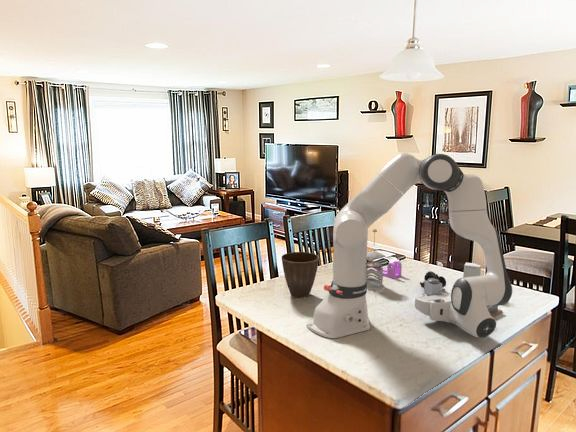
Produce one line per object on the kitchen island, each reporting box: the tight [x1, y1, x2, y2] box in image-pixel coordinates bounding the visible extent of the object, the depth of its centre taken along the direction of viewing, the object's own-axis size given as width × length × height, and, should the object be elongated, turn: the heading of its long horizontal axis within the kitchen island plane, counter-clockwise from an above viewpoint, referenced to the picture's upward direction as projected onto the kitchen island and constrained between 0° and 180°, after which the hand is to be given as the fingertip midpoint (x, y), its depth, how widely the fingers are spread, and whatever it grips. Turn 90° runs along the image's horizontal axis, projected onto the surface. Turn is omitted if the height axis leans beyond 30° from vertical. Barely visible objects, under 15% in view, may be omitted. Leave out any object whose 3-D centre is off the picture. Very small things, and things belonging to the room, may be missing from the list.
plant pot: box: [281, 251, 320, 299], centre depth 177 cm, size 15×15×16 cm
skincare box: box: [462, 262, 482, 278], centre depth 178 cm, size 6×4×12 cm
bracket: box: [373, 260, 402, 280], centre depth 203 cm, size 13×6×7 cm, turn 40°
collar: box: [487, 305, 503, 318], centre depth 160 cm, size 12×11×3 cm
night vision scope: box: [419, 271, 447, 289], centre depth 180 cm, size 8×18×10 cm
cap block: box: [423, 278, 443, 296], centre depth 160 cm, size 4×4×12 cm
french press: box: [366, 228, 386, 291], centre depth 185 cm, size 10×12×25 cm
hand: (431, 294), depth 161 cm, fingers closed on cap block, 4 cm apart
